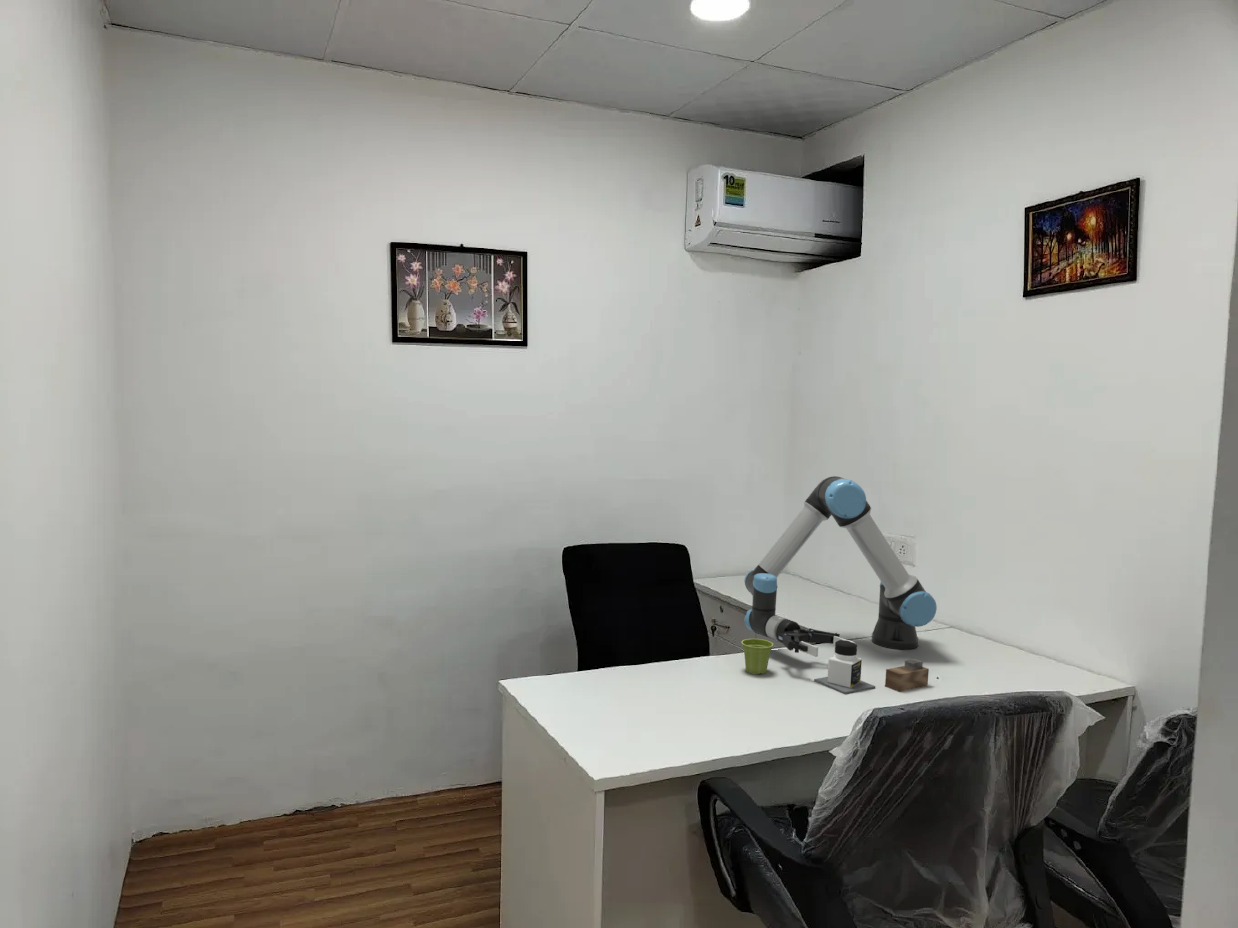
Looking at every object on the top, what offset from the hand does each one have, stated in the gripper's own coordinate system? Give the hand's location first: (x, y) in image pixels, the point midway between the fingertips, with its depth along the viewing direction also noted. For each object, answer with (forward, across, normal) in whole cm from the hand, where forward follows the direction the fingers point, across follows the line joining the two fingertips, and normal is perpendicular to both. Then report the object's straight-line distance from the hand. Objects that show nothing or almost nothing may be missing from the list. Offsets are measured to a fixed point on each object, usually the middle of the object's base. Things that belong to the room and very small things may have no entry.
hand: (834, 649), depth 244 cm
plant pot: (-16, +16, -9) cm, 24 cm away
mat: (+5, 0, -9) cm, 10 cm away
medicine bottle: (+5, 0, -9) cm, 10 cm away
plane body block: (+14, -16, -9) cm, 23 cm away
